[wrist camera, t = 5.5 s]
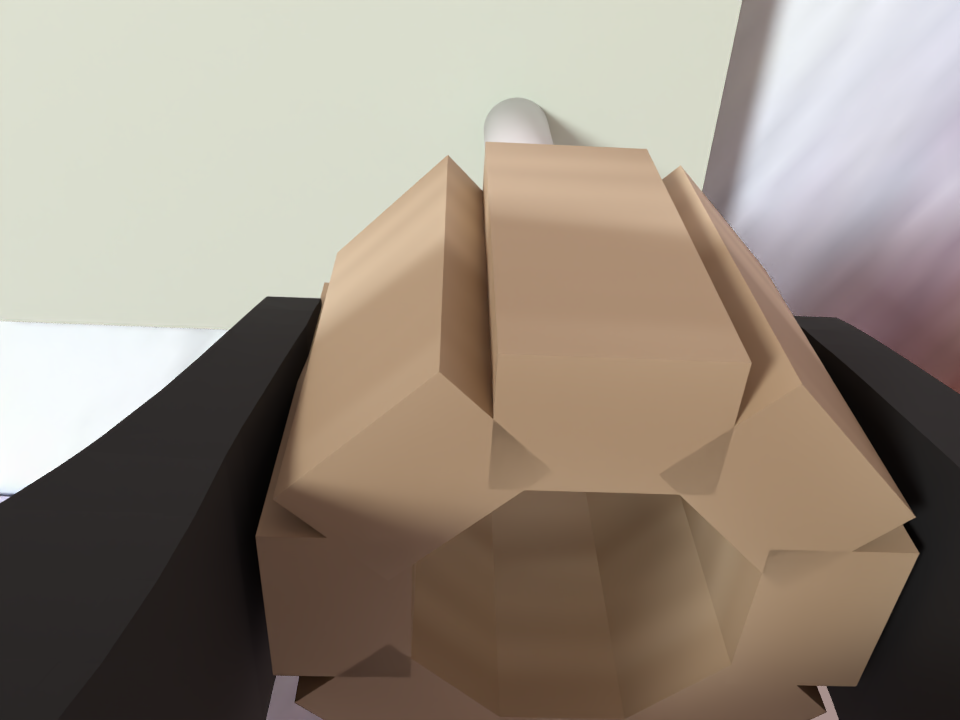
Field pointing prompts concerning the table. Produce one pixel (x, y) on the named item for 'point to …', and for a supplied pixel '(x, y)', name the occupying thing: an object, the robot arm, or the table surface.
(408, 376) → the bead
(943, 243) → the table surface
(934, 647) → the robot arm
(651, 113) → the board
